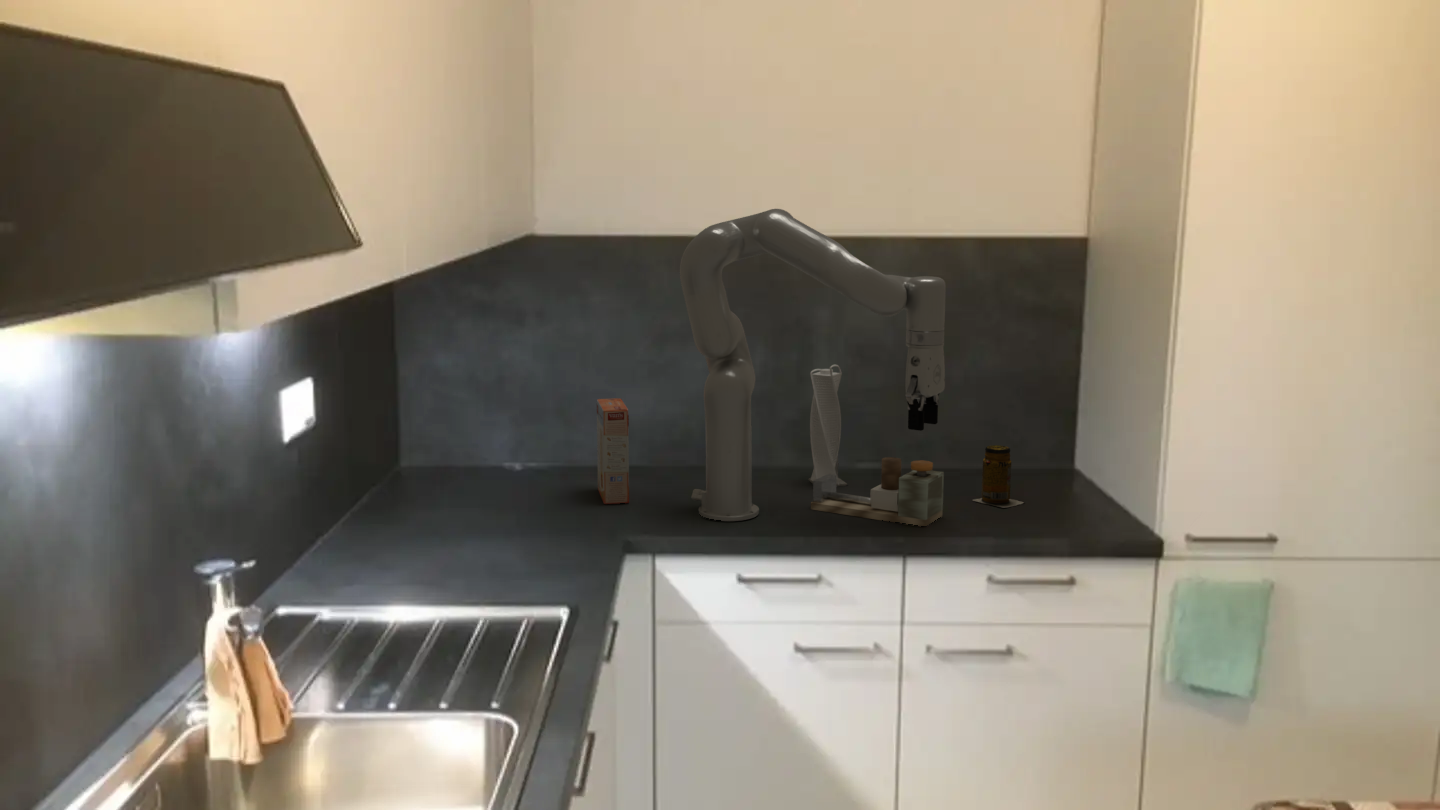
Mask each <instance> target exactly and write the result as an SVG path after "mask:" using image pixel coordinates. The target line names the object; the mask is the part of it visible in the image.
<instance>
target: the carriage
mask: <svg viewBox="0 0 1440 810" xmlns="http://www.w3.org/2000/svg"><path fill="white" fill-rule="evenodd" d="M901 476H902V459H901V458H900V457H891V456H887V457H886V456H885V457H883V458H881V480H880V483H881V484H879V485H877V486H875V487H873V488H871V489H870V501H871V508H877V509H883V510H890V511H896V512H898V501H899V477H901Z"/></svg>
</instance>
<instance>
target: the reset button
mask: <svg viewBox="0 0 1440 810" xmlns="http://www.w3.org/2000/svg"><path fill="white" fill-rule="evenodd" d="M933 468H934V462H932V461H929V460H923V459H922V460H920V459H919V460H913V461H910V469H911V471H913V470H915V471H917V476H920V477H927V471H931V470H932V471H934V470H933Z"/></svg>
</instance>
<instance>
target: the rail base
mask: <svg viewBox="0 0 1440 810" xmlns="http://www.w3.org/2000/svg"><path fill="white" fill-rule="evenodd" d="M944 477H945V473H944V471H939V470H938V471H937V470H931V471H927V477H920V476H917V471H915V470H910V471H909V472H907V473H905V474H903V475H901V477H899V501H898V512H896V511H890V510H883V509H877V508H871V501H870V497H869V496H862V495H857V494H856V495H854V494H848V493H842V492H837V486H836V478H837V475H833V474H827V475H825V476H823V477H820V478H818V479H816V480H814V481H813V483H812V501H811V502H810V510H813V511H820V512H824V513H825V512H826V513H832V514H837V515H838V514H839V515H846V516H851V517H857V518H864V519H872V520H877V521H882V520H883V522H889V521H890V523H895V522H900V523H899V524H902V523H906V524H905V525H908V524H913V525H912V526H914V525H918V526H917V527H921V526H927V525H928V526H930V525H931V524H930V523H932V522H933V523H934V521H935V520H936V521H938V520H939V519H938V518H940V517H941V518H943V513H944V512H943V511H944V510H943V509H944V504H943V503H944V480H945V479H944ZM941 518H940V519H941ZM937 519H938V520H937ZM936 521H935V522H936ZM933 523H932V524H933ZM929 524H930V525H929ZM928 526H927V527H928Z"/></svg>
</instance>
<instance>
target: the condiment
mask: <svg viewBox="0 0 1440 810" xmlns="http://www.w3.org/2000/svg"><path fill="white" fill-rule="evenodd" d="M984 452H985V453H984V458H983V461H982V472H981V473H982V477H981V497H980V498H974V499H972V501H973V502H977V503H981V504H985V505H990V506H994V507H998V508H1010V507H1011V508H1012V507H1015V506H1016V507H1017V506H1018V505H1022V504H1024V503H1025V502H1023V501H1019V500H1017V499H1013V498H1011V485H1012V484H1011V483H1012V482H1011V480H1012V460H1011V448H1010V447H1008V446H1006V445H999V444H993V445H991V444H990V445H988V446H986V447H985V450H984Z"/></svg>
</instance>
